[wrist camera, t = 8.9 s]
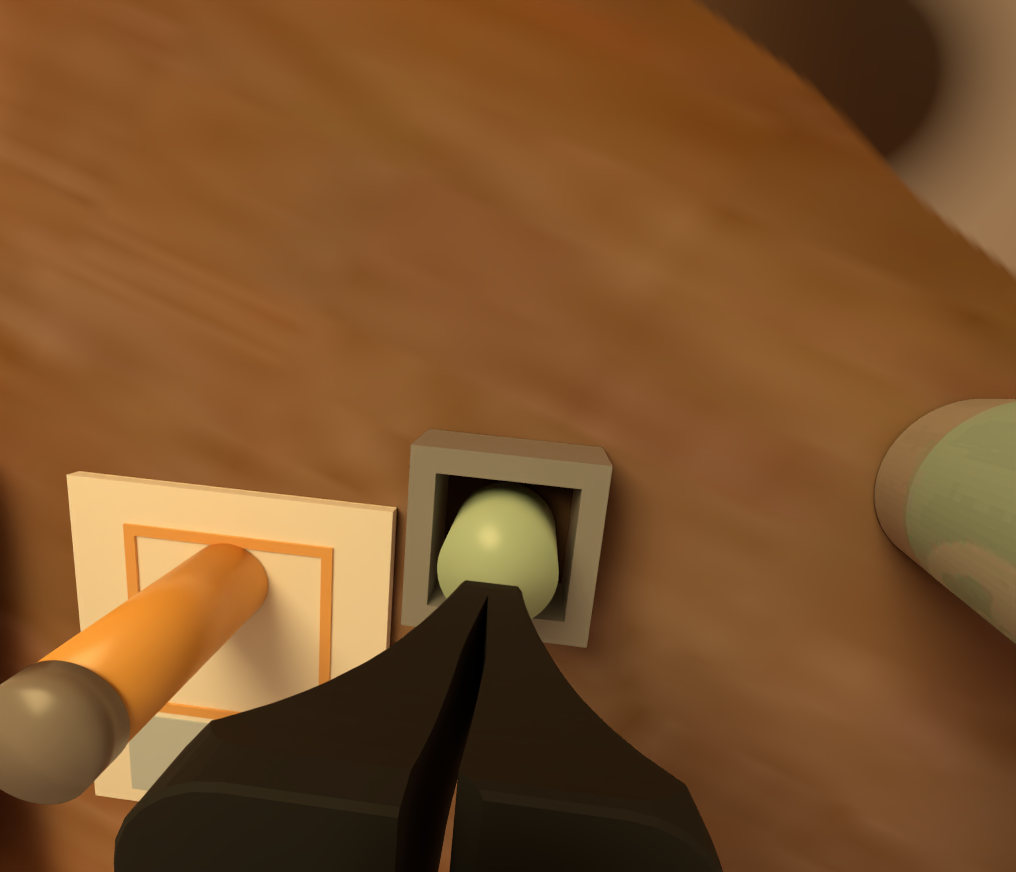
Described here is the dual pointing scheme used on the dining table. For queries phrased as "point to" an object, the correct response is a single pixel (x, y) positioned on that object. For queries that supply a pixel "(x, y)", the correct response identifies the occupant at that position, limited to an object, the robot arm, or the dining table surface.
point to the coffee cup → (958, 503)
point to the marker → (120, 674)
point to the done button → (503, 544)
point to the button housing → (514, 463)
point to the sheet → (271, 629)
